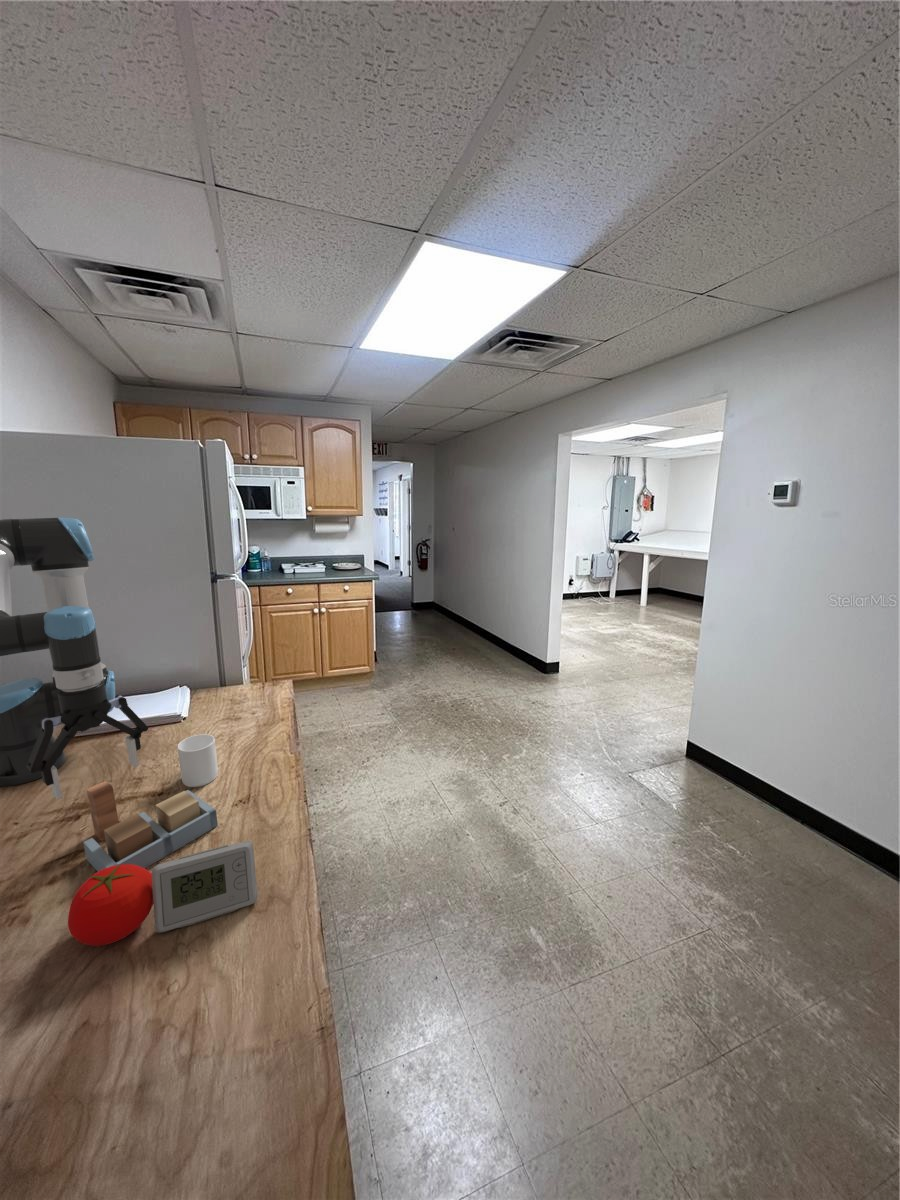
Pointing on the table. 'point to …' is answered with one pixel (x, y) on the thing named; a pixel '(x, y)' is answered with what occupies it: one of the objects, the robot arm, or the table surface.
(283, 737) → the table surface
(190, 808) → the oak block
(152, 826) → the lane shelf
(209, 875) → the digital clock
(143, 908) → the tomato
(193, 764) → the cup
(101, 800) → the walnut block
